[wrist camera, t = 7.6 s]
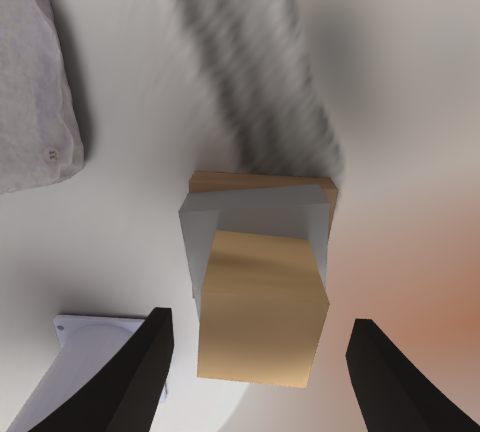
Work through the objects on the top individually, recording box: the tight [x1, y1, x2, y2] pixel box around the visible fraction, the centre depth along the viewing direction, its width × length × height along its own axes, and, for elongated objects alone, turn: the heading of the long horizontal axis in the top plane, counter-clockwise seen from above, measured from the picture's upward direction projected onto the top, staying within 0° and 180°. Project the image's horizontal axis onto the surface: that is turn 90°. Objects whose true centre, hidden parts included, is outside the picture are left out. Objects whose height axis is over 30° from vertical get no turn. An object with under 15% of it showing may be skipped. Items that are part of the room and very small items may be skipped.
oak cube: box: [197, 230, 330, 388], centre depth 14 cm, size 4×4×4 cm
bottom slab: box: [189, 171, 338, 298], centre depth 19 cm, size 8×8×2 cm
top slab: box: [179, 184, 329, 323], centre depth 17 cm, size 7×7×2 cm
